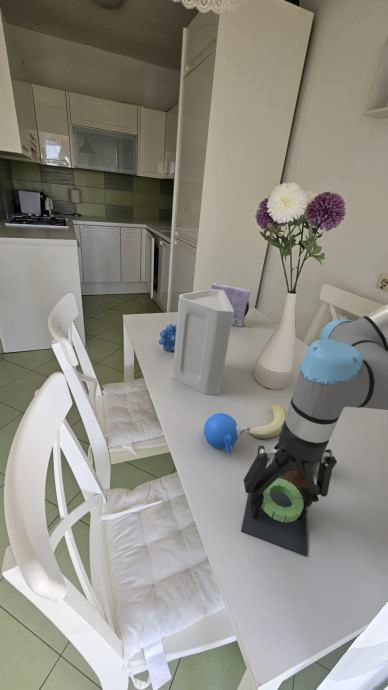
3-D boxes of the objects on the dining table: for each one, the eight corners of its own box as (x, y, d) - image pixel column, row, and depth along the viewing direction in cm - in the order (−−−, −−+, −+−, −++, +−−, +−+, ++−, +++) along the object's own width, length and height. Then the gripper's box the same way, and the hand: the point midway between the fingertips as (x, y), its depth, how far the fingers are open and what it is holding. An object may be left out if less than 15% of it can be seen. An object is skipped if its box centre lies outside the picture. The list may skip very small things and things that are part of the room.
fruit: (294, 420, 88) (297, 411, 87) (269, 447, 78) (272, 437, 76) (272, 408, 92) (275, 399, 91) (245, 432, 82) (248, 423, 80)
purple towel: (245, 324, 148) (252, 289, 140) (244, 328, 144) (251, 292, 135) (208, 316, 152) (212, 281, 144) (205, 319, 148) (210, 284, 140)
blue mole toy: (255, 459, 74) (262, 433, 70) (208, 463, 71) (213, 437, 67) (239, 424, 84) (244, 400, 80) (197, 427, 81) (201, 402, 78)
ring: (301, 491, 62) (303, 486, 61) (300, 529, 55) (303, 523, 54) (261, 478, 64) (263, 472, 63) (256, 512, 57) (257, 506, 56)
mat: (305, 500, 65) (306, 499, 65) (305, 556, 55) (306, 555, 55) (250, 481, 68) (250, 480, 68) (240, 531, 58) (241, 530, 58)
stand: (324, 463, 75) (338, 430, 70) (327, 501, 66) (344, 466, 60) (279, 449, 78) (290, 416, 72) (275, 484, 68) (287, 448, 63)
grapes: (187, 346, 122) (190, 319, 116) (188, 355, 116) (191, 326, 110) (158, 344, 120) (160, 316, 115) (157, 353, 114) (159, 324, 109)
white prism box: (172, 361, 111) (178, 286, 98) (212, 363, 112) (223, 290, 99) (172, 393, 94) (180, 308, 81) (219, 395, 95) (234, 311, 82)
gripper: (355, 417, 55) (318, 498, 65) (241, 409, 53) (221, 493, 64) (379, 449, 48) (333, 533, 59) (249, 441, 47) (226, 529, 57)
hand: (275, 512), depth 61 cm, fingers closed on ring, 8 cm apart
